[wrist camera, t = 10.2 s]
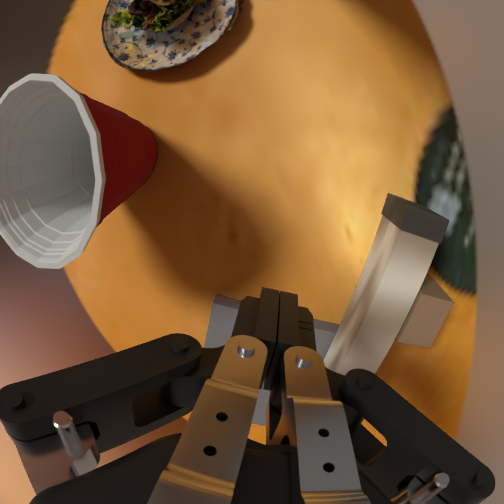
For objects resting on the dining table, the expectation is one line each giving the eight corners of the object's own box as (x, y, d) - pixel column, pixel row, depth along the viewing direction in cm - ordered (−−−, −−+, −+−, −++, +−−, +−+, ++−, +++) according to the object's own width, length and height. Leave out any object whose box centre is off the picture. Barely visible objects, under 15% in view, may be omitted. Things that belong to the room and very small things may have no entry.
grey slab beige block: (233, 217, 24) (216, 240, 19) (424, 269, 24) (453, 302, 18) (196, 398, 32) (182, 438, 26) (338, 427, 31) (341, 467, 26)
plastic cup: (59, 154, 24) (-42, 174, 13) (135, 67, 21) (37, 33, 10) (123, 242, 26) (36, 306, 15) (213, 163, 23) (146, 185, 12)
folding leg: (352, 370, 26) (360, 410, 21) (319, 364, 26) (323, 405, 21) (424, 206, 20) (455, 224, 16) (388, 192, 21) (414, 207, 16)
